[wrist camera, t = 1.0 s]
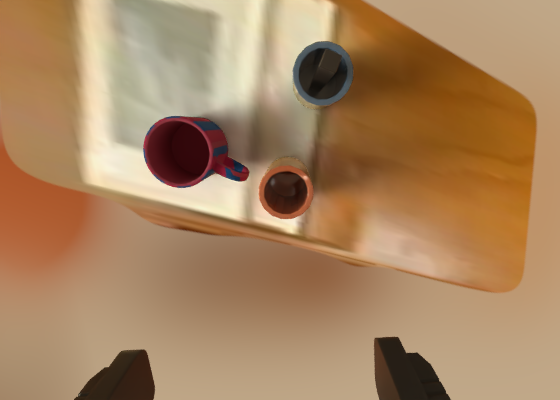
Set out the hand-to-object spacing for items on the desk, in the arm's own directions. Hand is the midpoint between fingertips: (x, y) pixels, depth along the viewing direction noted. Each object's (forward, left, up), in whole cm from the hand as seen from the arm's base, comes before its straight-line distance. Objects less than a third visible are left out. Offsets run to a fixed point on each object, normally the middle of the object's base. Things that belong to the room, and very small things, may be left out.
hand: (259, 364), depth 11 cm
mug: (-8, -6, -27) cm, 29 cm away
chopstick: (-10, +8, -26) cm, 29 cm away
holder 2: (-10, +8, -27) cm, 30 cm away
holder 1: (-2, +1, -27) cm, 27 cm away
